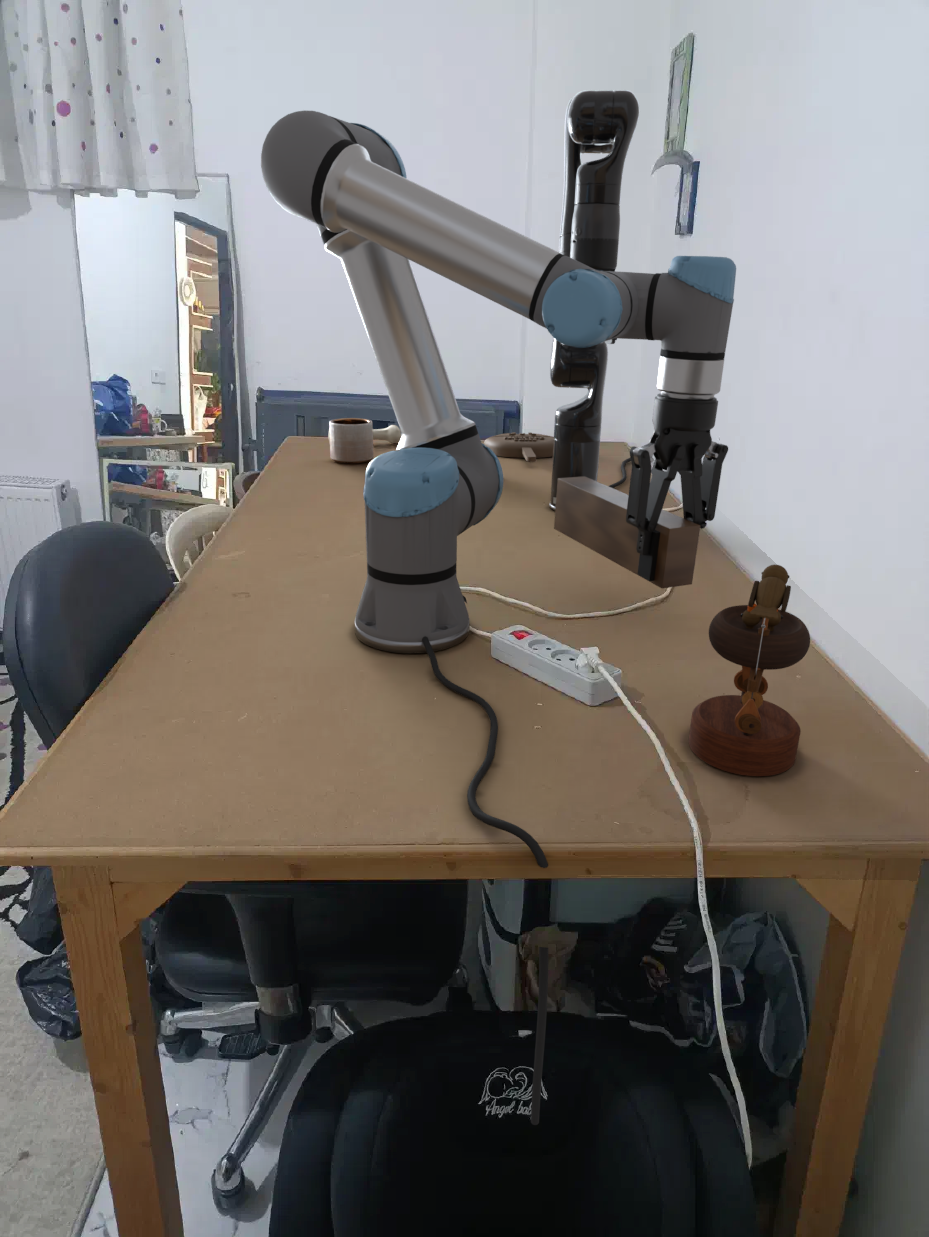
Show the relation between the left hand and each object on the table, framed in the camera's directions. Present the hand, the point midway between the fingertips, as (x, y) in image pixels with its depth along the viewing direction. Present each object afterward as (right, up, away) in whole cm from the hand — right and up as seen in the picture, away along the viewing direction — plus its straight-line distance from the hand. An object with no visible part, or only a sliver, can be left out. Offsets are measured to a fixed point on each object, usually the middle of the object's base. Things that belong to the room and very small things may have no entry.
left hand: (663, 574), depth 111 cm
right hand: (-6, +40, +28) cm, 49 cm away
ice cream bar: (-10, +37, +110) cm, 117 cm away
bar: (-4, +3, +9) cm, 11 cm away
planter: (-55, +34, +103) cm, 121 cm away
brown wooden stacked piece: (+2, -19, -25) cm, 31 cm away
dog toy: (-54, +43, +124) cm, 142 cm away
